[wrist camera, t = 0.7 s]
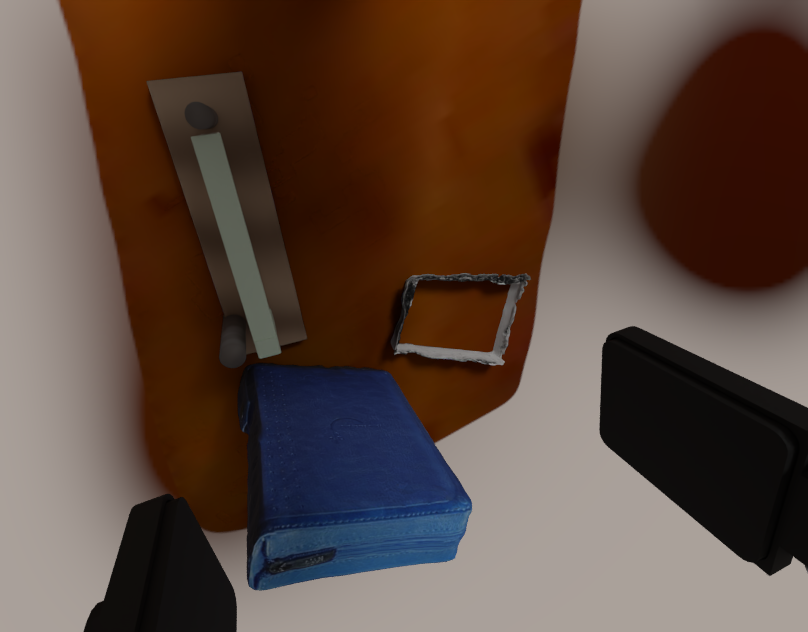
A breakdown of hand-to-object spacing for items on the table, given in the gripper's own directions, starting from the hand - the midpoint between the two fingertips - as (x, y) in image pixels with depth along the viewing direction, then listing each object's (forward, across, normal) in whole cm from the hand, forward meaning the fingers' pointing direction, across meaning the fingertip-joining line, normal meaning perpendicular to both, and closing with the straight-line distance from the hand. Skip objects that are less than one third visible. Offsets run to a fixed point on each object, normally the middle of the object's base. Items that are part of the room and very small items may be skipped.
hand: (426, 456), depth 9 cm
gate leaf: (+28, +4, 0) cm, 29 cm away
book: (+31, +2, +15) cm, 34 cm away
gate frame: (+30, +4, 0) cm, 30 cm away
